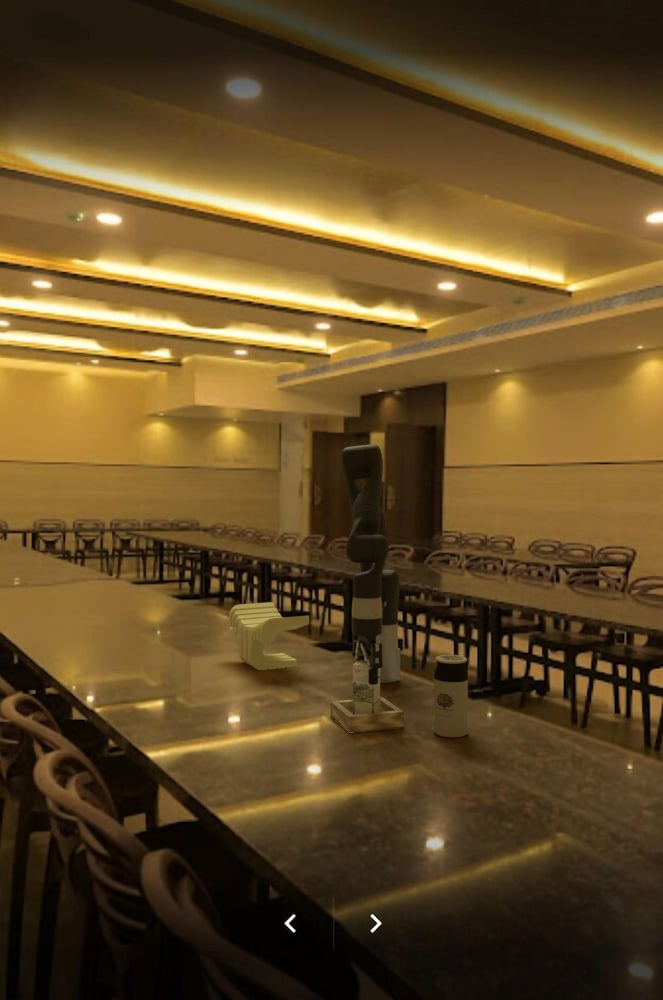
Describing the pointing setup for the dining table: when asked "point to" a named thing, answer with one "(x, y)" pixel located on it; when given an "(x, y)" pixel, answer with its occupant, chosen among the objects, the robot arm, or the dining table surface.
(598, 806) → the dining table surface
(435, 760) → the dining table surface
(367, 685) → the syrup box
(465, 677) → the travel mug
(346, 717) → the socket block
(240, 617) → the slatted curved stool
